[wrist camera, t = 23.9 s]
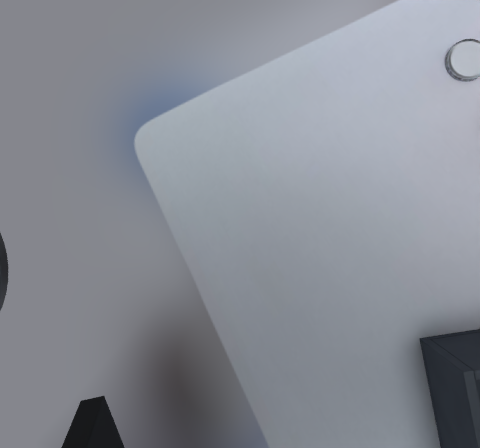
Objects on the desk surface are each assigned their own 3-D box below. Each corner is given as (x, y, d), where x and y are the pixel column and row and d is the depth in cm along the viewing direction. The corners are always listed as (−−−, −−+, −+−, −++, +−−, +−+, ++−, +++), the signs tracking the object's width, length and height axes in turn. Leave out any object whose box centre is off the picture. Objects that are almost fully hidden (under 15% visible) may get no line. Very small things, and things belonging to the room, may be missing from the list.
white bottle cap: (452, 37, 41) (454, 34, 41) (492, 46, 41) (495, 43, 40) (440, 75, 41) (443, 73, 41) (480, 85, 41) (483, 83, 40)
